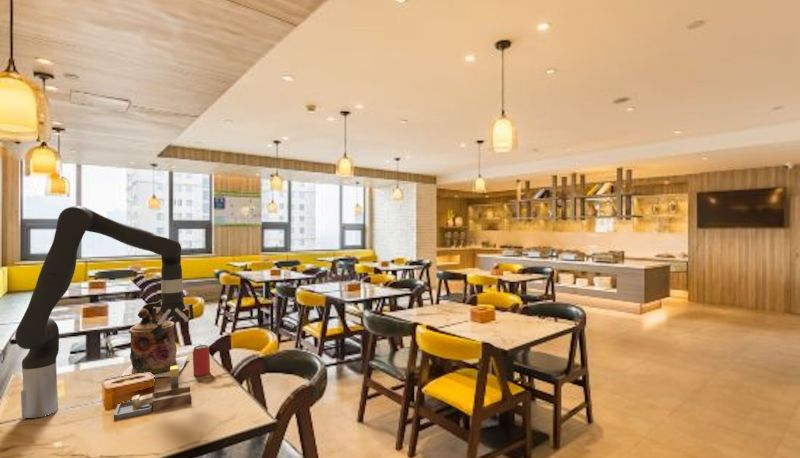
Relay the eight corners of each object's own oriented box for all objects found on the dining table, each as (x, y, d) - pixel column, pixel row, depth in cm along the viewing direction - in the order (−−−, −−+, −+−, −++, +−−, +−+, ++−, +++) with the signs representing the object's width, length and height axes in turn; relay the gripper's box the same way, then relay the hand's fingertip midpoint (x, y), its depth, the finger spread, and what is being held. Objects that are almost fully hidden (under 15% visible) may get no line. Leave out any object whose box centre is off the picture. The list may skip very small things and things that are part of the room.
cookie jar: (132, 366, 201) (129, 298, 200) (189, 359, 208) (187, 294, 207) (113, 384, 177) (110, 307, 177) (178, 377, 184) (176, 303, 184)
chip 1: (140, 409, 150) (133, 411, 149) (141, 405, 154) (134, 407, 153) (138, 398, 150) (131, 400, 149) (139, 394, 154) (132, 396, 153)
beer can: (198, 377, 182) (197, 349, 182) (190, 374, 186) (189, 347, 186) (213, 373, 187) (212, 346, 187) (205, 370, 191) (204, 343, 191)
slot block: (152, 411, 150) (152, 401, 150) (154, 401, 158) (153, 392, 158) (190, 403, 155) (190, 394, 155) (190, 394, 164) (190, 385, 164)
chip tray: (113, 420, 143) (113, 415, 143) (118, 406, 154) (118, 402, 154) (151, 412, 148) (151, 408, 148) (153, 400, 159) (153, 396, 159)
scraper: (171, 395, 163) (170, 369, 163) (171, 391, 167) (170, 366, 167) (178, 394, 164) (177, 368, 164) (178, 390, 168) (178, 365, 168)
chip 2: (140, 406, 150) (139, 400, 150) (141, 402, 154) (140, 396, 154) (153, 402, 152) (152, 396, 152) (153, 398, 156) (152, 393, 155)
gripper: (150, 293, 159) (152, 337, 159) (193, 290, 165) (194, 331, 166) (151, 291, 166) (153, 332, 166) (192, 287, 172) (193, 327, 172)
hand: (173, 332), depth 166 cm, fingers open, 8 cm apart
